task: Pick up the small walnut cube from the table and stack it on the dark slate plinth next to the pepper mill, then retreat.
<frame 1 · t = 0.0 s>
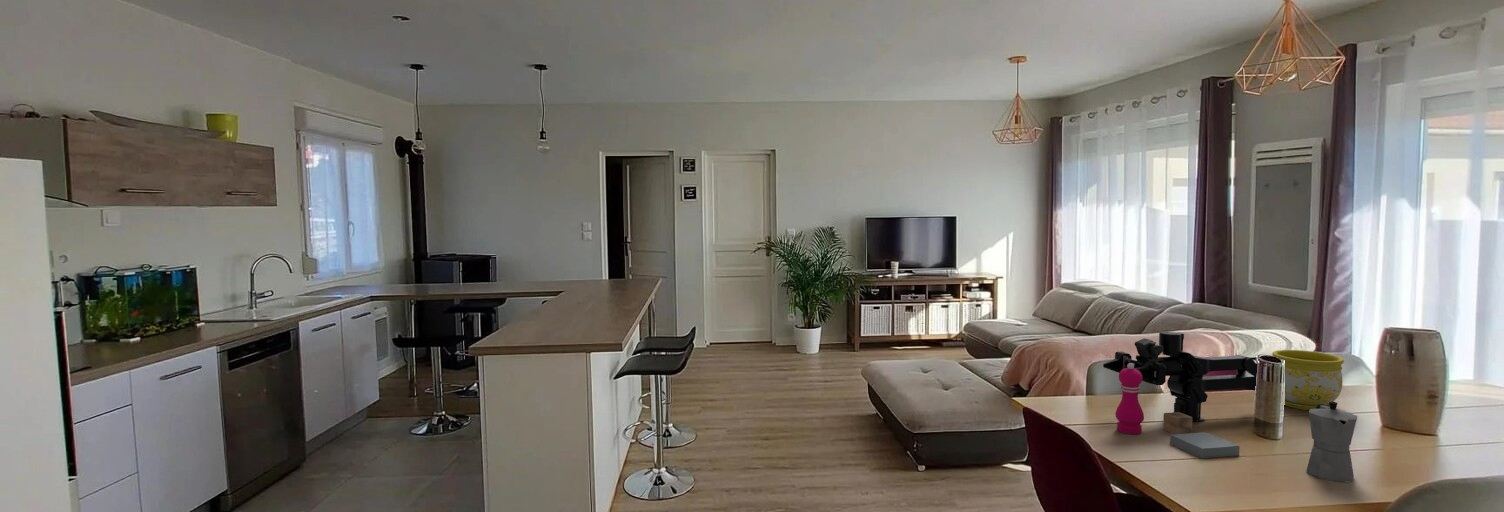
hand: (1113, 369, 207), 17 cm above the table, tool horizontal, fingers open, 9 cm apart
slate plinth: (1203, 449, 186), on the table
coffeepot: (1327, 474, 169), on the table
flowerpot: (1304, 406, 225), on the table
walnut cube: (1177, 432, 201), on the table
pepper mill: (1129, 431, 202), on the table, touching gripper
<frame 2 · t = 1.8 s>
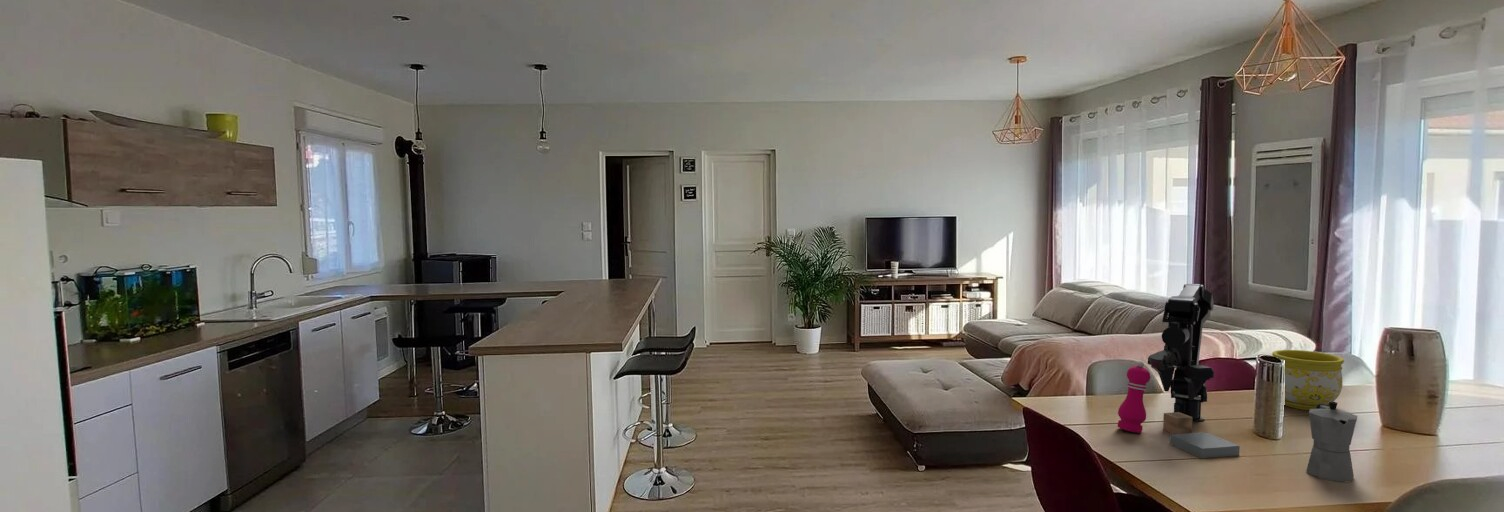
hand: (1178, 395, 200), 11 cm above the table, tool pointing down, fingers open, 9 cm apart
pepper mill: (1129, 430, 202), on the table
everything else where it was.
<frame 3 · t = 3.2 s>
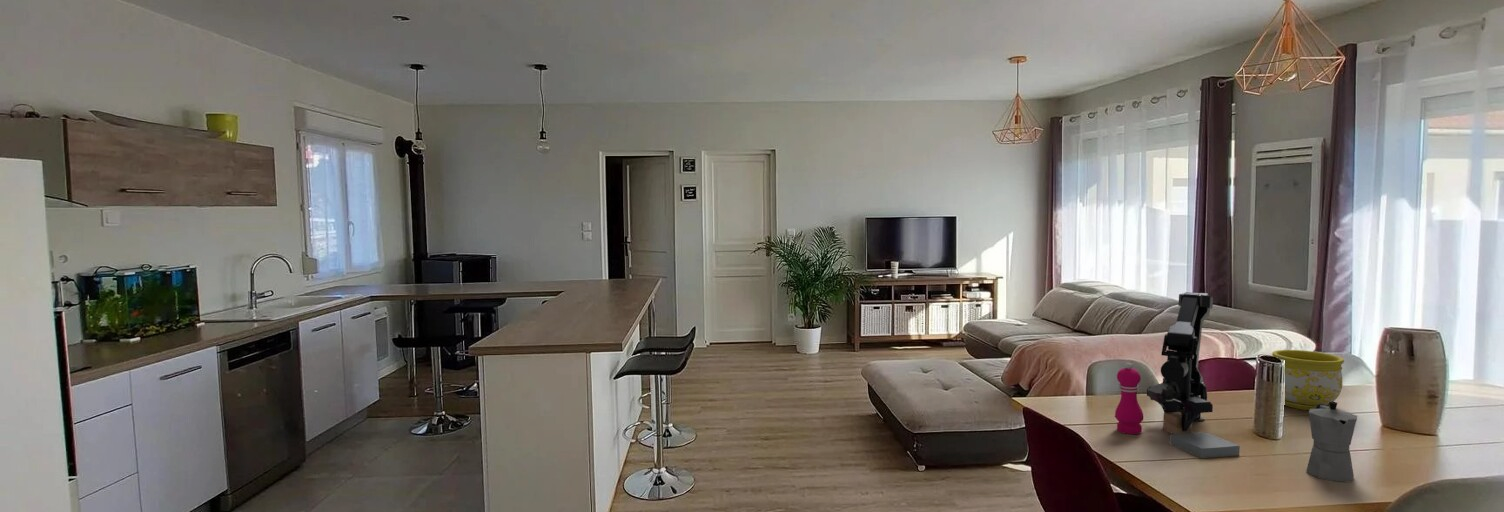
hand: (1177, 428, 201), 1 cm above the table, tool pointing down, fingers closed on walnut cube, 5 cm apart
walnut cube: (1177, 431, 201), on the table, touching gripper
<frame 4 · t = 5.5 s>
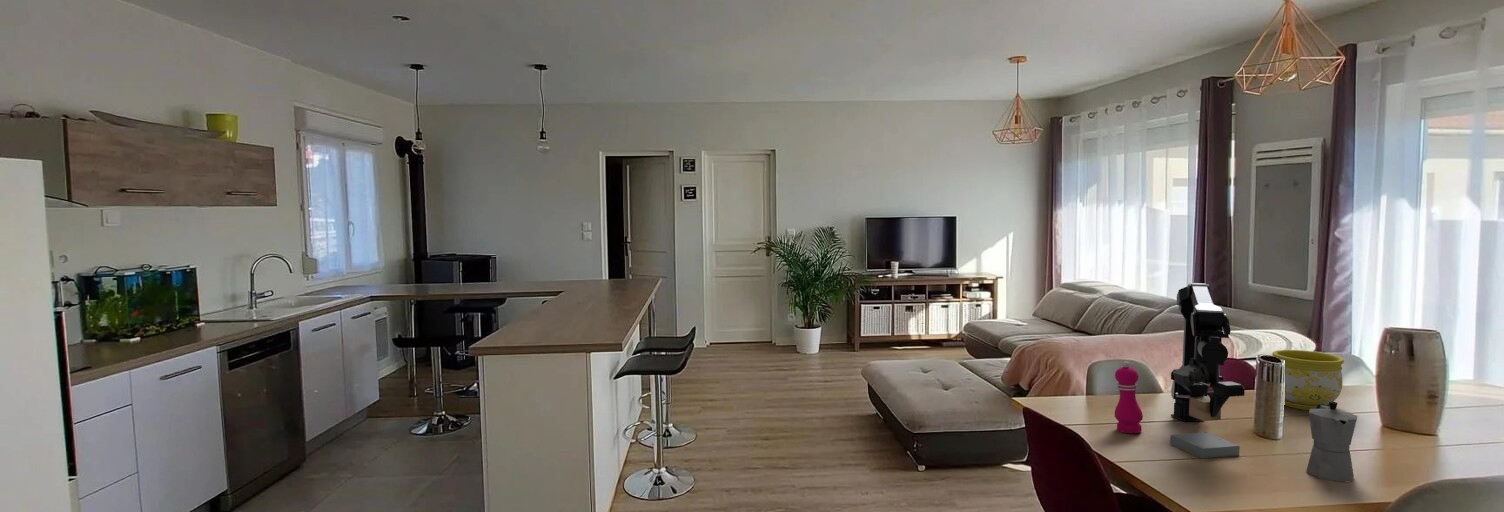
hand: (1204, 413, 186), 10 cm above the table, tool pointing down, fingers closed on walnut cube, 5 cm apart
walnut cube: (1204, 417, 186), point 9 cm above the table, touching gripper
when the fingers open (4 cm above the table, at t = 6.7 s): walnut cube stays where it is, resting on slate plinth.
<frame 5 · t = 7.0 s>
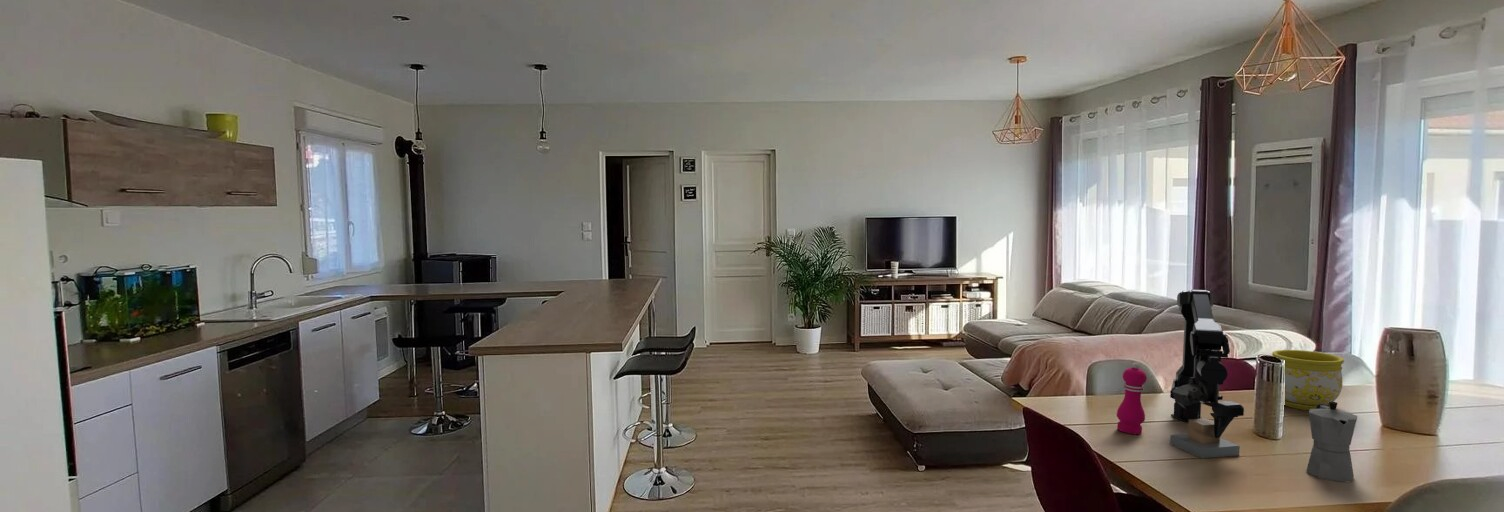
hand: (1204, 432, 186), 4 cm above the table, tool pointing down, fingers open, 8 cm apart
walnut cube: (1203, 440, 186), point 2 cm above the table, touching slate plinth
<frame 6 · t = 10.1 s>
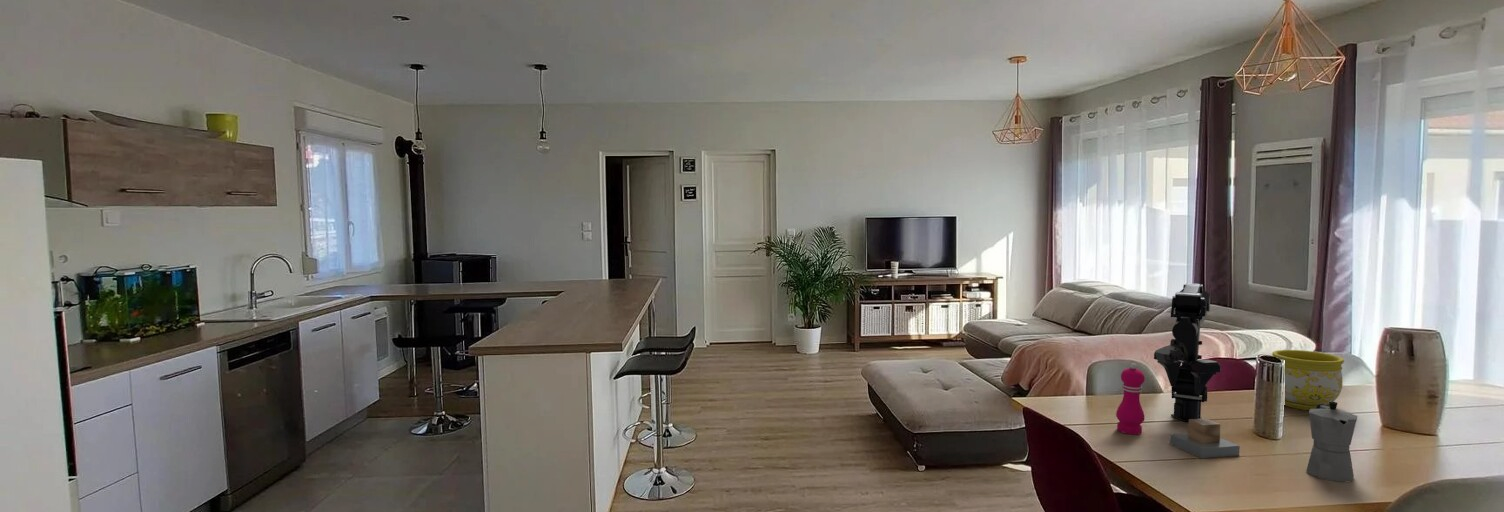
hand: (1184, 390, 200), 12 cm above the table, tool pointing down, fingers open, 9 cm apart
at the end: walnut cube inside the target area on the slate plinth (0.1 cm from its centre), point 2.5 cm above the slate plinth's base; walnut cube tilted 0°; the gripper is holding nothing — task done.
